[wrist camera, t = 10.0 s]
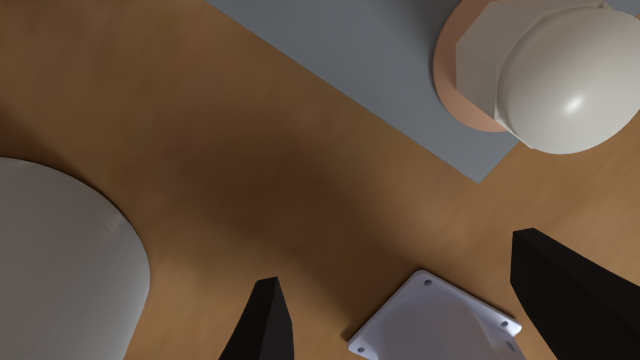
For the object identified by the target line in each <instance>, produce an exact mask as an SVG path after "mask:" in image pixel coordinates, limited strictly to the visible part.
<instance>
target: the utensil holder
mask: <svg viewBox="0 0 640 360" xmlns="http://www.w3.org/2000/svg"><path fill="white" fill-rule="evenodd" d="M149 284H150V270H149V263H148V259H147V255H146V252H145V250H144V247H143V245H142V242H141V240H140V239H139V237H138V235H137V234H136V232H135V230H134V229H133V227H132V226H131V224H130V223H129V222H128V221H127V220H126V218H125V217H124V216H123V215H122V214H121V213H120V212H119V211H118V209H117V208H116V207H115V206H113V205H112V204H111V203H110V202H109V201H108V200H107V199H106V198H105V197H103V196H102V195H101V194H99V193H98V192H96V191H95V190H93V189H92V188H90V187H89V186H87V185H85V184H84V183H82V182H80V181H79V180H77V179H75V178H73V177H71V176H69V175H67V174H64V173H62V172H60V171H57V170H55V169H52V168H49V167H46V166H43V165H40V164H37V163H33V162H29V161H24V160H19V159H12V158H5V157H0V360H123V358H124V355H125V353H126V350H127V347H128V345H129V342H130V340H131V337H132V335H133V332H134V330H135V327H136V325H137V323H138V320H139V317H140V315H141V312H142V310H143V307H144V305H145V302H146V299H147V296H148V291H149Z"/></svg>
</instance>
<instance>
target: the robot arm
mask: <svg viewBox="0 0 640 360" xmlns="http://www.w3.org/2000/svg"><path fill="white" fill-rule="evenodd" d="M426 280H429V281H428V282H425V281H426ZM510 283H511V285H512V287H513V289H514V291H515V293H516V295H517V297H518V299H519V301H520V303H521V305H522V307H523V309H524V310H525V312H526V314H527V315H528V317H529V318H530V320H531V321H532V323H533V324H534V326H535V327H536V329H537V330H538V332H539V333H540V335H541V336H542V337H543V339H544V340H545V342H546V343H547V345H548V346H549V348H550V349H551V350H552V352H553V353H554V355H555V356H556V358H557V359H558V360H640V287H639V286H637V285H635V284H633V283H631V282H629V281H627V280H625V279H623V278H621V277H620V276H618V275H616V274H614V273H612V272H610V271H608V270H606V269H605V268H603V267H601V266H599V265H597V264H595V263H594V262H592V261H590V260H588V259H587V258H585V257H583V256H581V255H580V254H578V253H576V252H574V251H573V250H571V249H569V248H568V247H566V246H564V245H562V244H561V243H559V242H557V241H556V240H554V239H552V238H551V237H549V236H547V235H545V234H544V233H542V232H540V231H538V230H536V229H535V228H529V229H524V230H519V231H513V238H512V256H511V274H510ZM521 328H522V327H521V325H520V323H519V322H518V321H517V320H515V319H513V318H511V317H509V316H508V315H506V314H504V313H502V312H500V311H498V310H497V309H495V308H493V307H491V306H489V305H488V304H486V303H484V302H482V301H480V300H478V299H477V298H475V297H473V296H471V295H469V294H467V293H466V292H464V291H462V290H460V289H458V288H457V287H455V286H453V285H451V284H449V283H447V282H446V281H444V280H442V279H440V278H438V277H436V276H435V275H433V274H431V273H429V272H427V271H425V270H418V271H416V272H415V273H414V274H413V275H412V276H411V277H410V278H409V279H408V280H407V281H406V282H405V283H404V284H403V285H402V286H401V287H400V288H399V289H398V290H397V292H396V293H395V294H394V295H393V296H392V297H391V298H390V299H389V300H388V301H387V302H386V303H385V304H384V305H383V306H382V307H381V308H380V309H379V310H378V311H377V312H376V313H375V314H374V315H373V316H372V317H371V318H370V319H369V320H368V321H367V323H366V324H365V325H364V326H363V327H362V328H361V329H360V330H359V331H358V332H357V333H356V334H355V335H354V336H353V337H352V338H351V339H350V340H349V341H348V349H349V350H350V351H351V352H354V353H356V354H358V355H361V356H363V357H365V358H367V359H370V360H526V358H525V356H524V355H523V353H522V351H521V350H520V348H519V346H518V345H517V343H516V341H515V340H514V338H513V337H514V336H515V335H516V334H517V333H518V332H519V331H520V330H521ZM361 347H362V348H361ZM218 360H294V345H293V331H292V322H291V319H290V315H289V312H288V309H287V306H286V303H285V299H284V296H283V293H282V290H281V287H280V283H279V280H278V277H272V278H267V279H262V280H258V281H257V282H256V283H255V285H254V288H253V290H252V293H251V295H250V298H249V300H248V302H247V304H246V307H245V309H244V311H243V313H242V315H241V318H240V320H239V322H238V324H237V326H236V328H235V330H234V332H233V334H232V336H231V338H230V340H229V341H228V343H227V345H226V347H225V349H224V350H223V352H222V354H221V356H220V357H219V359H218Z"/></svg>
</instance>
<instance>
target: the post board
mask: <svg viewBox="0 0 640 360" xmlns="http://www.w3.org/2000/svg"><path fill="white" fill-rule="evenodd" d="M205 1H206V2H208V3H209V4H211V5H212V6H214V7H215V8H217V9H218V10H220V11H221V12H223V13H224V14H226V15H227V16H229V17H230V18H232V19H233V20H235V21H236V22H238V23H239V24H241V25H242V26H244V27H245V28H247V29H248V30H250V31H251V32H253V33H254V34H256V35H257V36H258V37H260V38H261V39H263V40H264V41H266V42H267V43H269V44H270V45H272V46H273V47H275V48H276V49H278V50H279V51H281V52H282V53H284V54H285V55H287V56H288V57H290V58H291V59H293V60H294V61H296V62H297V63H299V64H300V65H302V66H303V67H305V68H306V69H308V70H309V71H311V72H312V73H314V74H315V75H317V76H318V77H320V78H321V79H323V80H324V81H326V82H327V83H329V84H330V85H332V86H333V87H334V88H336V89H337V90H339V91H340V92H342V93H343V94H345V95H346V96H348V97H349V98H351V99H352V100H354V101H355V102H357V103H358V104H360V105H361V106H363V107H364V108H366V109H367V110H369V111H370V112H372V113H373V114H375V115H376V116H378V117H379V118H381V119H382V120H384V121H385V122H387V123H388V124H390V125H391V126H393V127H394V128H396V129H397V130H399V131H400V132H402V133H403V134H405V135H406V136H408V137H409V138H411V139H412V140H413V141H415V142H416V143H418V144H419V145H421V146H422V147H424V148H425V149H427V150H428V151H430V152H431V153H433V154H434V155H436V156H437V157H439V158H440V159H442V160H443V161H445V162H446V163H448V164H449V165H451V166H452V167H454V168H455V169H457V170H458V171H460V172H461V173H463V174H464V175H466V176H467V177H469V178H470V179H472V180H473V181H475V182H476V183H478V184H479V183H480V182H481V181H482V180H483V179H484V178H485V177H486V175H487V174H488V173H489V172H490V171H491V170H492V169H493V168H494V167H495V166H496V165H497V164H498V163H499V162H500V161H501V160H502V158H503V157H504V156H505V155H506V154H507V153H508V152H509V151H510V150H511V149H512V148H513V147H514V146H515V145H516V144H517V143H518V142H519V139H518V138H517V137H516V136H514V135H513V134H512V133H510V132H509V131H508V130H506V129H505V128H504V127H503V126H501V125H500V124H499V123H497V122H496V121H495V120H493V119H492V118H491V117H490V116H488V115H487V114H486V113H484V112H483V111H482V110H481V109H479V108H478V107H477V106H475V105H474V104H473V103H471V102H470V101H469V100H468V99H466V98H465V97H464V96H462V95H461V94H460V93H459V92H457V91H456V43H457V42H458V41H459V40H460V38H461V37H462V36H463V35H464V33H465V32H466V31H467V30H468V28H469V27H470V26H471V25H472V23H473V22H474V21H475V20H476V18H477V17H478V16H479V15H480V13H481V12H482V11H483V10H484V8H485V7H486V6H487V5H488V3H489V2H492V1H497V0H205ZM605 2H606V3H607V4H608V5H609V6H610V7H611V8H612V9H613V10H617V11H622V12H625V13H628V14H630V15H632V16H634V17H636V16H637V15H638V14H639V13H640V0H605Z"/></svg>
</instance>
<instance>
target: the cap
mask: <svg viewBox="0 0 640 360" xmlns="http://www.w3.org/2000/svg"><path fill="white" fill-rule="evenodd" d="M456 91H457V92H459V93H460V94H461V95H462V96H464V97H465V98H466V99H468V100H469V101H470V102H471V103H473V104H474V105H475V106H477V107H478V108H479V109H481V110H482V111H483V112H484V113H486V114H487V115H488V116H490V117H491V118H492V119H493V120H495V121H496V122H497V123H499V124H500V125H501V126H503V127H504V128H505V129H506V130H508V131H509V132H510V133H512V134H513V135H514V136H516V137H517V138H518V139H519V140H521V141H522V142H523V143H525V144H526V145H527V146H528V147H530V148H535V149H537V150H540V151H543V152H546V153H552V154H569V153H576V152H580V151H583V150H586V149H589V148H592V147H594V146H596V145H598V144H600V143H602V142H604V141H605V140H607V139H609V138H610V137H611V136H613V135H614V134H616V133H617V132H618V131H619V130H620V129H622V128H623V127H624V126H625V125H626V124H627V123H628V122H629V121H630V120H631V119H632V118H633V116H634V115H635V114H636V113H637V111H638V110H639V109H640V21H639V20H638V19H637V18H635V17H634V16H632V15H630V14H628V13H625V12H622V11H617V10H613V9H612V8H611V7H610V6H609V5H608V4H607V3H606V2H605V0H497V1H492V2H489V3H488V5H487V6H486V7H485V8H484V10H483V11H482V12H481V13H480V15H479V16H478V17H477V18H476V20H475V21H474V22H473V23H472V25H471V26H470V27H469V28H468V30H467V31H466V32H465V33H464V35H463V36H462V37H461V38H460V40H459V41H458V42H457V43H456Z"/></svg>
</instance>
